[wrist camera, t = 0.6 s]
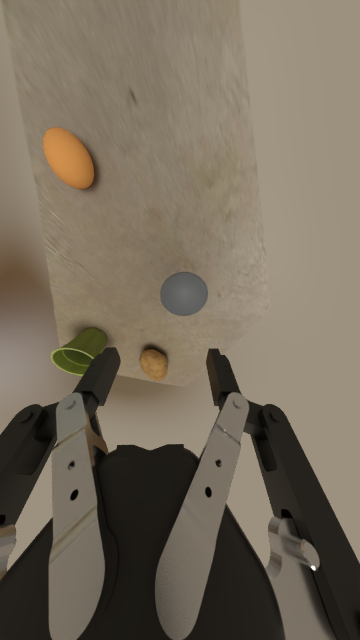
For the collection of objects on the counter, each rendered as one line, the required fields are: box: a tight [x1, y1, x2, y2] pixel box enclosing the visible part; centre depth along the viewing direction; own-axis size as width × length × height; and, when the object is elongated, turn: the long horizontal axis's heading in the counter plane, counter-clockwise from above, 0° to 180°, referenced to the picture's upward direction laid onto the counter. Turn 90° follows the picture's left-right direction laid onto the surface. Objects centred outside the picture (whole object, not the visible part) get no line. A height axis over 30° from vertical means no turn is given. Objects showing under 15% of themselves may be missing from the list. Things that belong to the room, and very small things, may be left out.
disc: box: [161, 272, 208, 316], centre depth 37 cm, size 13×13×1 cm
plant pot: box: [51, 328, 107, 376], centre depth 41 cm, size 12×12×11 cm
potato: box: [139, 349, 168, 381], centre depth 48 cm, size 10×14×8 cm
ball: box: [43, 127, 94, 189], centre depth 20 cm, size 6×6×6 cm
